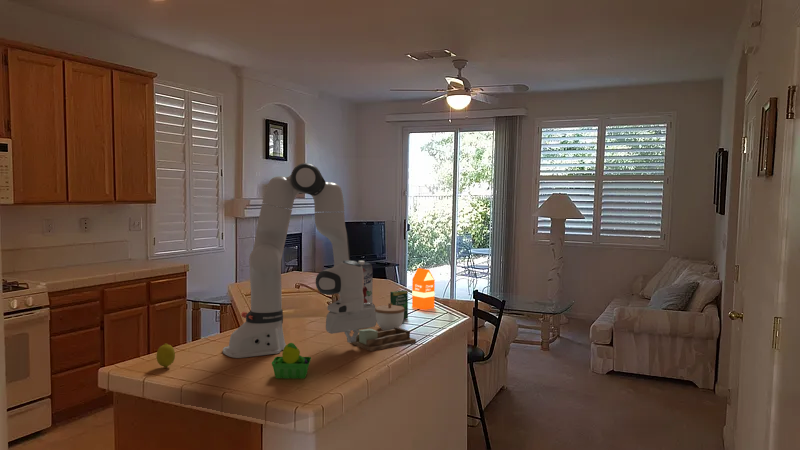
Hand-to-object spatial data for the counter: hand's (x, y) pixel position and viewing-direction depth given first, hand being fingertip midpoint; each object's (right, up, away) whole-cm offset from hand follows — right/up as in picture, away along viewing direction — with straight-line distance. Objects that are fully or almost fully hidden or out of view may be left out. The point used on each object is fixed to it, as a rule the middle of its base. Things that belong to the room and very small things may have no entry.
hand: (351, 341), depth 201 cm
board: (+11, -2, +9) cm, 15 cm away
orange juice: (+30, 0, +79) cm, 85 cm away
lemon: (-58, -3, -24) cm, 63 cm away
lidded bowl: (+13, -2, +32) cm, 34 cm away
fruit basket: (-16, -4, -32) cm, 36 cm away
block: (+6, -1, +5) cm, 8 cm away
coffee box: (+18, -1, +51) cm, 54 cm away
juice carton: (-1, 0, +54) cm, 54 cm away
